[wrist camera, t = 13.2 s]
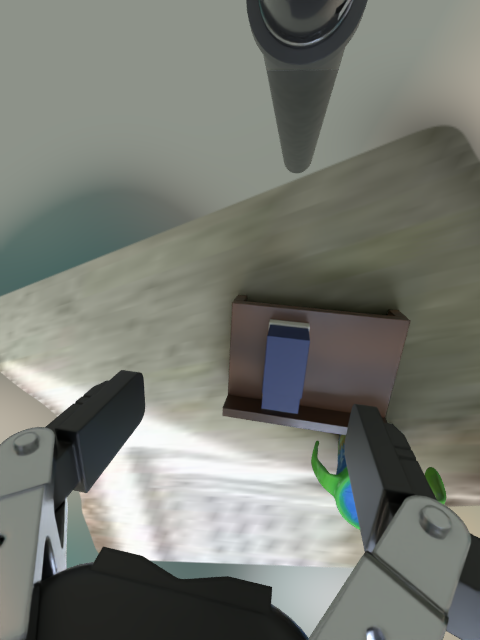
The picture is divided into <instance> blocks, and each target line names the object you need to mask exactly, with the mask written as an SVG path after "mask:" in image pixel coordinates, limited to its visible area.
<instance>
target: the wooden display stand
mask: <svg viewBox="0 0 480 640" xmlns="http://www.w3.org/2000/svg"><path fill="white" fill-rule="evenodd" d="M270 319H272V320H281V321H290V322H300V323H309V326H310V329H309V336H310V345H309V352H308V359H307V366H306V373H305V380H304V387H303V394H302V399H300V403H299V410H298V414H295V413H288V412H282V411H275V410H269V409H262V408H261V406H262V395H263V393H262V387H263V376H264V365H265V355H266V344H267V335H268V330H269V322H270ZM409 324H410V320H409V319H408V318H407V317H406V316H405V315H403V314H402V313H401V312H400V311H399V310H390V309H389V310H388V314H387V316H386V315H376V314H367V313H357V312H347V311H337V310H327V309H317V308H307V307H297V306H287V305H277V304H267V303H257V302H247V296H246V295H238V296H237V297H236V298H235V300H234V301H233V303H232V320H231V341H230V362H229V383H228V396H227V398H226V401H225V404H224V406H223V416H227V417H234V418H240V419H246V420H252V421H259V422H265V423H271V424H278V425H284V426H290V427H297V428H303V429H309V430H315V431H322V432H328V433H334V434H341V435H346V433H347V428H348V424H349V419H350V414H351V410H352V406H353V405H354V404H359V405H366V406H373V407H377V408H378V410H379V412H380V415H381V417H382V419H383V421H384V423H387V421H386V418H385V416H386V412H387V409H388V405H389V401H390V397H391V393H392V389H393V386H394V382H395V378H396V374H397V370H398V366H399V363H400V359H401V355H402V351H403V347H404V343H405V340H406V336H407V332H408V328H409Z"/></svg>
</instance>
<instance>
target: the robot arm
mask: <svg viewBox="0 0 480 640" xmlns="http://www.w3.org/2000/svg"><path fill="white" fill-rule="evenodd" d="M258 1H259V7H260V12H261V16H262V19H263V22H264V24H265V26H266V28H267V30H268V32H269V33H270V34H271V36H272V37H273V38H274V39H275V40H276V41H278V42H279V43H280V44H282V45H284V46H286V47H289V48H292V49H307V48H311V47H315V46H317V45H319V44H321V43H323V42H324V41H326V40H327V39H328V38H330V37H331V36H332V35H333V34H334V33H335V32H336V31H337V30H338V29H339V27H340V26H341V25H342V23H343V22H344V20H345V19H346V17H347V15H348V13H349V11H350V9H351V6H352V4H353V1H354V0H258ZM144 412H145V395H144V379H143V375H142V373H139V372H132V371H125V370H121V371H120V372H119V373H117V374H116V375H115V376H114V377H113V378H112V379H111V380H109V381H105V382H103V383H101V384H98V385H96V386H94V387H93V388H91V389H90V390H89V391H88V392H87V393H85V394H84V396H83V397H81V398H80V399H78V400H77V401H76V403H75V404H72V405H71V406H70V407H69V408H68V409H66V410H65V411H64V412H63V413H62V414H60V415H59V416H58V417H57V418H56V419H55V420H53V421H52V422H51V423H50V424H49V425H47V426H46V427H45V428H44V427H36V428H30V429H26V430H23V431H20V432H18V433H16V434H14V435H12V436H10V437H9V438H7V439H6V440H5V441H3V442H2V444H0V640H443V638H444V634H445V631H447V632H449V633H451V634H453V635H454V636H456V637H458V638H459V639H461V640H480V538H478V537H476V536H474V535H472V534H470V533H469V531H468V529H467V527H466V525H465V524H464V522H463V521H462V520H461V519H460V517H459V516H457V514H456V513H454V512H453V511H452V510H451V509H450V508H448V507H447V506H445V505H444V504H442V503H441V502H439V501H437V499H436V497H435V495H434V493H433V491H432V489H431V487H430V485H429V483H428V481H427V479H426V477H425V475H424V473H423V471H422V469H421V467H420V465H419V463H418V461H416V457H415V455H414V453H413V451H412V450H411V448H410V446H409V444H408V442H407V440H406V438H405V436H404V435H403V434H402V433H401V432H400V431H399V430H398V429H397V428H396V427H395V426H394V425H393V424H389V423H384V421H383V419H382V417H381V415H380V412H379V410H378V408H377V407H373V406H366V405H359V404H354V405H353V406H352V410H351V414H350V419H349V424H348V428H347V433H346V438H345V448H344V450H345V460H346V464H347V469H348V474H349V479H350V483H351V488H352V493H353V498H354V502H355V507H356V512H357V517H358V521H359V526H360V531H361V536H362V540H363V545H364V550H365V553H364V555H363V556H362V557H361V559H360V560H359V562H358V563H357V565H356V566H355V568H354V570H353V571H352V573H351V574H350V576H349V577H348V579H347V580H346V582H345V583H344V585H343V586H342V588H341V590H340V591H339V593H338V594H337V596H336V597H335V599H334V600H333V602H332V603H331V605H330V606H329V608H328V609H327V611H326V613H325V614H324V616H323V617H322V619H321V620H320V622H319V623H318V625H317V626H316V628H315V630H314V631H313V633H312V634H311V636H310V637H309V638H308V637H307V635H306V634H305V633H304V632H303V630H302V629H301V628H300V627H299V626H298V625H297V624H296V623H295V622H294V621H293V620H292V619H291V618H290V617H289V616H287V615H286V614H285V613H283V612H282V611H281V610H280V609H278V608H277V607H275V606H273V605H272V604H271V596H272V587H270V586H266V585H262V584H258V583H253V582H249V581H245V580H241V579H237V578H232V577H228V576H227V577H211V578H198V579H178V578H176V577H175V576H173V575H172V574H170V573H168V572H167V571H165V570H163V569H162V568H160V567H159V566H157V565H156V564H154V563H152V562H151V561H149V560H148V559H146V558H145V557H143V556H140V555H136V554H132V553H128V552H124V551H119V550H115V549H111V548H107V547H103V548H102V550H101V551H100V553H99V555H98V556H97V558H96V560H95V562H91V563H86V564H80V565H77V566H74V567H71V568H68V569H67V567H66V543H67V511H68V503H67V497H68V495H69V494H70V493H71V492H72V490H75V491H79V492H84V493H87V492H88V491H89V490H90V488H91V487H92V486H93V484H94V483H95V482H96V480H97V479H98V478H99V476H100V475H101V474H102V473H103V471H104V470H105V469H106V467H107V466H108V465H109V463H110V462H111V461H112V459H113V458H114V457H115V455H116V454H117V453H118V451H119V450H120V449H121V447H122V446H123V445H124V443H125V442H126V441H127V439H128V438H129V437H130V436H131V434H132V433H133V432H134V430H135V429H136V428H137V426H138V425H139V424H140V422H141V420H142V418H143V416H144Z"/></svg>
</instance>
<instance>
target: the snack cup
mask: <svg viewBox="0 0 480 640" xmlns="http://www.w3.org/2000/svg"><path fill="white" fill-rule="evenodd" d="M345 438H346V435H340V437H339V441H338V465H337V473H336V475H334V474H330V473H329V472H328V471H327V470H326V468H325V467H324V466H323V465H322V464H321V463H320V461H319V460H318V459H317V454H318V445H319V441H316V443H315V446H314V450H313V454H312V459H311V463H312V468H313V471H314V473H315V475H316V477H317V479H318V481H319V482H320V483H321V485H322V486H323V487H324V488H325V489H326V490H327V491H328V492H329V493H330V494H331V495H333V497H334V498H335V500H336V505H337V508H338V510H339V512H340V514H341V515H342V517H343V518H344V519H345V520H346V521H348V522H349V523H350V524H351V525H353V526H354V527H356V528H357V529H359V530H360V526H359V521H358V517H357V512H356V507H355V502H354V498H353V493H352V488H351V483H350V479H349V474H348V469H347V464H346V460H345V450H344V448H345ZM425 477H426V479H427V481H428V483H429V485H430V487H431V489H432V491H433V493H434V495H435V496H436V499H437V501H439V502H441V503H442V504H445V501H446V491H445V488H444V484H443V482H442V479H441V477H440V475H439V473H438V472H437V471H436V470H435V469H434V468H432V467H429V468H428V469H427V470H426V472H425Z"/></svg>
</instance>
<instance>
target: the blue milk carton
mask: <svg viewBox="0 0 480 640" xmlns="http://www.w3.org/2000/svg"><path fill="white" fill-rule="evenodd" d="M309 329H310V326H309V323H300V322H290V321H281V320H272V319H270V322H269V330H268V335H267V344H266V355H265V365H264V376H263V387H262V393H263V395H262V406H261V408H262V409H269V410H275V411H282V412H288V413H295V414H298V410H299V403H300V399H302V394H303V387H304V380H305V373H306V366H307V359H308V352H309V345H310V336H309Z"/></svg>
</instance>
